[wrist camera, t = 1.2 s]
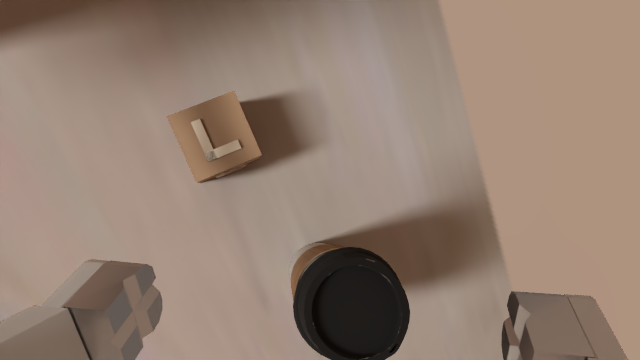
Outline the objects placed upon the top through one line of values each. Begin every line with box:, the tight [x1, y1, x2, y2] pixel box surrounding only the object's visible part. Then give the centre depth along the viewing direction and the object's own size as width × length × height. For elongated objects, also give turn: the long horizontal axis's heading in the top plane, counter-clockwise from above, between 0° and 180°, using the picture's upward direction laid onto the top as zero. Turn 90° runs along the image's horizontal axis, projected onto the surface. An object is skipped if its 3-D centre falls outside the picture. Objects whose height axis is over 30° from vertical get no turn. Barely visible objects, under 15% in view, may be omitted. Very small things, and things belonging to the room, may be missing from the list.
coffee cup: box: [289, 243, 410, 360], centre depth 38 cm, size 8×8×15 cm
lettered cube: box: [167, 91, 262, 183], centre depth 40 cm, size 6×6×6 cm
